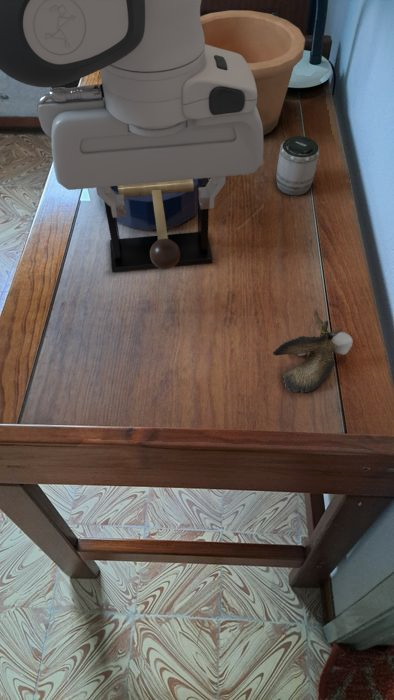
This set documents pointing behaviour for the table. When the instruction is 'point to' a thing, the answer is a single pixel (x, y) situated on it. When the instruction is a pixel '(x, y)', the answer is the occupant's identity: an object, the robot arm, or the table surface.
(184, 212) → the navy blue bowl
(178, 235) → the stand
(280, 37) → the pottery
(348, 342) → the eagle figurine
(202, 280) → the table surface
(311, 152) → the camera lens
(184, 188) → the tan piece
